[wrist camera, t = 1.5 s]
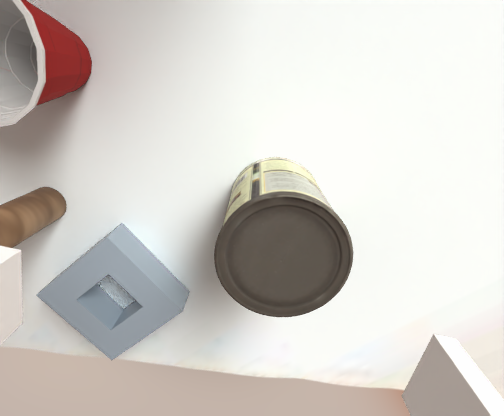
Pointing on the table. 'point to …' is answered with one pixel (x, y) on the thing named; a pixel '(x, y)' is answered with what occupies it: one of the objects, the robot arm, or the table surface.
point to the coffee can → (281, 241)
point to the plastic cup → (36, 60)
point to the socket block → (103, 306)
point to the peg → (29, 215)
